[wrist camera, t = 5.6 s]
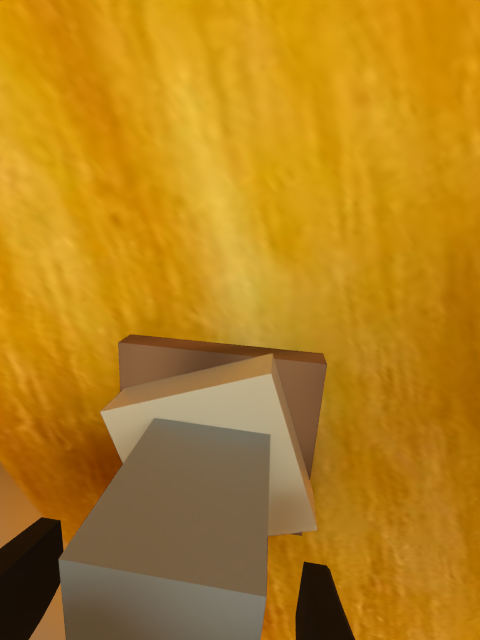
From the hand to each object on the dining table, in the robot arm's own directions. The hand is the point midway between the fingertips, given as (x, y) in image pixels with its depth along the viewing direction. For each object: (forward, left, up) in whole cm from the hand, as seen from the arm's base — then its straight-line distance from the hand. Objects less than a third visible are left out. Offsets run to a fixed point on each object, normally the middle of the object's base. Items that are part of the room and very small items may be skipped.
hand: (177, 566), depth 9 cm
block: (0, 0, -4) cm, 4 cm away
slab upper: (0, 0, -6) cm, 6 cm away
